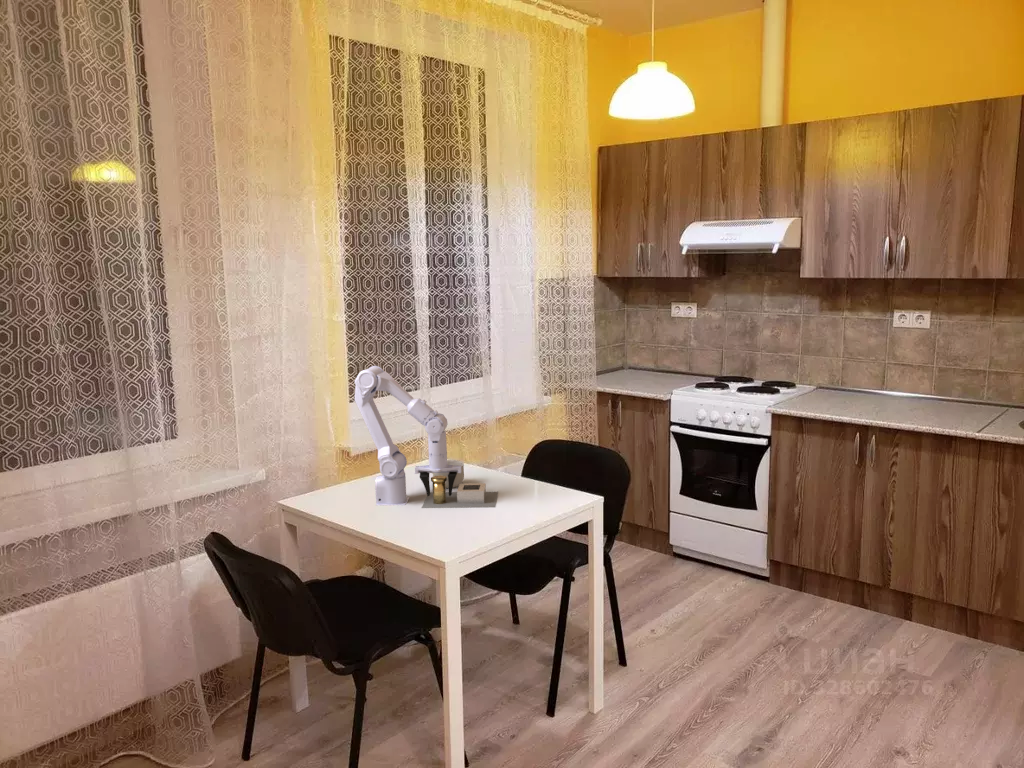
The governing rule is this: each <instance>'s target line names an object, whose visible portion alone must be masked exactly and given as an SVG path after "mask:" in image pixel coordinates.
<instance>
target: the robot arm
mask: <svg viewBox="0 0 1024 768" xmlns="http://www.w3.org/2000/svg"><path fill="white" fill-rule="evenodd" d="M354 385H355V388H354V390H355V391H354V402H355V404H356V406H357V408H358V410H359V413H360V415H361V417H362V419H363V421H364V423H365V426H366V429H367V430H368V432H369V435H370V437H371V439H372V441H373V443H374V445H375V447H376V449H377V460H378V462H379V471H380V474H381V475H378V476H376V478H375V488H374V489H375V503H376V504H375V506H406V505H407V503H408V501H409V499H410V496H407V485H406V484H407V481H406V480H407V479H406V471H405V468H406V467H407V464H408V460H407V457H406V456H405V454H403V452H401V451H400V448H399V447H398V446H397V445H396V444H395V443H394V442H393V440H392V437H391V436H390V434H389V431H388V429H387V427H386V425H385V422H384V420H383V419H382V416H381V413H380V411H379V410H378V407H377V405H376V403H375V401H374V397H375V395H376V392H377V391H380V392H387V393H389V394H390V395H391V396H392V397H394V398H395V399H396V400H398V401H399V402H400V403H401V404H403V405H405V406H406V409H407V414H409V415H410V416H411V417H413V418H414V419H415V420H416V421H417V422H419V423H420V425H422V426H423V427H424V430H425V432H426V433H427V437H428V438H427V445H428V464H427V465H426V464H425V465H418V466H415V467H414V474H416V475H417V474H418V475H419V479H420V480H421V483H422V485H423V486H424V489H425V492H426V497H427V496H429V495H430V492H431V487H430V486H431V485H430V474H432V473H449V474H448V482H449V488H448V492H449V496H451V494H452V492H453V488H452V487H453V483H454V480H455V477H456V475H457V473H461V472H462V466H456V465H447V460H448V448H447V447H448V446H447V444H448V442H447V431H446V429H447V427H448V419H447V418H446V417H445V415H444V414H442V413H439V412H438V411H437V410H434V409H433V408H432V407H430V406H429V405H428V404H427V401H426V399H421V398H414V397H413V396H412V395H411V394H410V393H409V392H408V391H407V390H405V388H403V387H402V386H401V385H400V384H399V383H398V382H397V381H396V380H395V379H394V378H393V377H392V376H391V374H389V372H387V371H384V369H383V368H381V367H380V366H378V365H372V366H370V367H368V368H366V369H363V370H360V372H359V373H358V375H357V376H356V378H355V380H354Z"/></svg>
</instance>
